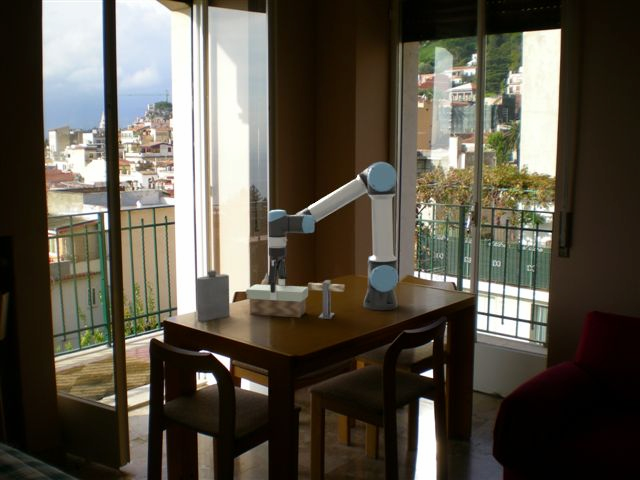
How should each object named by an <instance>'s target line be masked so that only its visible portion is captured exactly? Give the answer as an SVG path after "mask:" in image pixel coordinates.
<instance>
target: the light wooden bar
mask: <svg viewBox="0 0 640 480" xmlns="http://www.w3.org/2000/svg"><path fill="white" fill-rule="evenodd" d="M307 287H308V291H322V292H323V282H321V283H319V282H317V283H316V282H308V283H307ZM345 287H346V285H345V284H341V283H339V284H338V283H331V284H328V291H330V292H339V293H340V292H344V291H345Z"/></svg>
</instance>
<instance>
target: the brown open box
mask: <svg viewBox="0 0 640 480" xmlns="http://www.w3.org/2000/svg"><path fill="white" fill-rule="evenodd" d="M305 313H306V298H305V299H304V300H303V301H302V302H298V301H280V300H263V299H249V315H257V316H271V317H272V316H274V317H288V318H289V317H290V318H301V317H302V316H303V315H304V314H305Z"/></svg>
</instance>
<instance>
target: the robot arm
mask: <svg viewBox="0 0 640 480" xmlns="http://www.w3.org/2000/svg"><path fill="white" fill-rule="evenodd" d="M397 179H398V178H397V171H396V169H395V168H394V166H393V165H391V164H390V163H388V162H385V161H376V162H373V163H372V164H370V165H369V166H368V167H367V168H366V169H364V170H363V171H362V172H360V173H358V174H357V177H356V178H355V179H353V180H351V181H350V182H347V183H346V184H344V185H343V186H340V187H339V188H338V189H336V190H334V191H333V192H331V193H329V194H327V195H326V196H324V197H322V198H320V199H319V200H318V201H316V202H315V203H312V204H310V205H309V206H307V207H306V208H304V209H302V210H300V211H298V212H297V213H296V214H287V211H286V210H285V209H272V210H270V211H268V218H267V219H268V221H267V222H268V225H267V226H268V229H267V230H268V241H267V243H268V246H269V247H268V256H269V257H272V260H270V261H269V272H268V273H269V274H268V275H269V280H268V285H270V300H277V285H278V286H286V280H287V278H288V276H287V269H286V256H287V247H286V246H287V242H288V239H287V234H289V233H291V234H292V233H294V234H295V233H296V234H309V233H310V234H312V233H314V232H315V223H317V222H319V221H320V220H322V219H324V218H325V217H327V216H328V215H330V214H332V213H334V212H335V211H337V210H339V209H341V208H342V207H344V206H346V205H347V204H350V203H351V202H352V201H354V200H356V199H358V198H360V197H361V196H363V195H365V194H367V196H368V197H369V198H370V199H371V231H372V232H371V233H372V234H371V235H372V255H369V256H368V260H367V290H366V294H365V296H364V300H363V308H365V309H368V310H374V311H390V310H394V309H397V308H398V300H397V295H396V293H395V287H396V286H397V284H398V282H399V273H398V258H397V257H396V256H395V255H394V235H393V233H394V231H393V228H394V227H393V197H395V195H397V194H396V182H397ZM277 280H278V284H277ZM276 284H277V285H276Z"/></svg>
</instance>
